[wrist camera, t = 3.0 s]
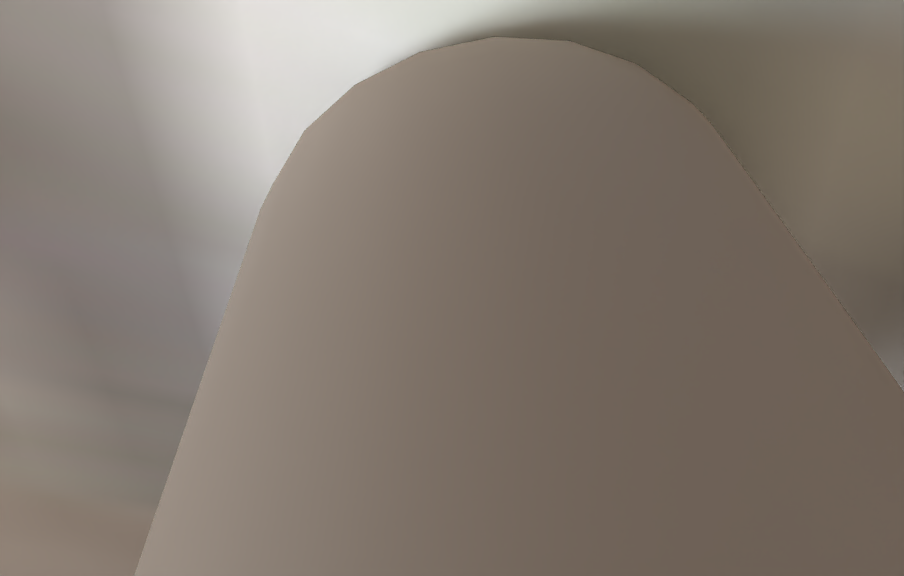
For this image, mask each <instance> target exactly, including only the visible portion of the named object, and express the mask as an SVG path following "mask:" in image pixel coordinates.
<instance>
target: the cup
mask: <svg viewBox="0 0 904 576" xmlns="http://www.w3.org/2000/svg"><path fill="white" fill-rule="evenodd" d="M134 576H904V392H903V390H902V389H901V387H900V386H899V385H898V383H897V382H896V380H895V379H894V378H893V376H892V375H891V373H890V372H889V371H888V369H887V368H886V366H885V365H884V364H883V362H882V361H881V359H880V358H879V357H878V355H877V354H876V352H875V351H874V350H873V348H872V347H871V345H870V344H869V343H868V341H867V340H866V338H865V337H864V336H863V334H862V333H861V331H860V330H859V329H858V327H857V326H856V324H855V323H854V322H853V320H852V319H851V317H850V316H849V315H848V313H847V312H846V310H845V309H844V308H843V306H842V305H841V303H840V302H839V301H838V299H837V298H836V296H835V295H834V294H833V292H832V291H831V289H830V288H829V287H828V285H827V284H826V282H825V281H824V280H823V278H822V277H821V275H820V274H819V273H818V271H817V270H816V268H815V267H814V266H813V264H812V263H811V261H810V260H809V259H808V257H807V256H806V254H805V253H804V252H803V250H802V249H801V248H800V246H799V245H798V243H797V242H796V241H795V239H794V238H793V236H792V235H791V234H790V232H789V231H788V229H787V228H786V227H785V225H784V224H783V222H782V221H781V220H780V218H779V217H778V215H777V214H776V213H775V211H774V210H773V208H772V207H771V206H770V204H769V203H768V201H767V200H766V199H765V197H764V196H763V194H762V193H761V192H760V190H759V189H758V187H757V186H756V185H755V183H754V182H753V180H752V179H751V178H750V176H749V175H748V173H747V172H746V171H745V169H744V168H743V167H742V165H741V164H740V162H739V161H738V160H737V158H736V157H735V156H734V154H733V153H732V151H731V150H730V149H729V147H728V146H727V145H726V143H725V142H724V141H723V139H722V138H721V136H720V135H719V134H718V132H717V131H716V130H715V128H714V127H713V125H712V124H711V123H710V122H709V121H708V119H707V118H706V117H705V116H704V115H703V114H702V113H701V112H700V111H699V110H698V109H697V108H696V107H695V106H694V105H693V104H692V103H691V102H690V101H689V100H687V99H686V98H684V97H683V96H682V95H680V94H679V93H677V92H676V91H675V90H673V89H672V88H670V87H669V86H667V85H666V84H665V83H663V82H662V81H660V80H659V79H658V78H656V77H655V76H653V75H652V74H651V73H649V72H648V71H646V70H645V69H643V68H642V67H641V66H639V65H638V64H636V63H633V62H630V61H627V60H624V59H621V58H618V57H615V56H612V55H610V54H607V53H604V52H601V51H598V50H595V49H592V48H589V47H586V46H583V45H580V44H577V43H574V42H572V41H565V40H547V39H528V38H510V37H490V38H485V39H480V40H476V41H471V42H466V43H461V44H456V45H451V46H446V47H441V48H436V49H432V50H427V51H422V52H419V53H417V54H415V55H413V56H411V57H409V58H407V59H405V60H403V61H401V62H399V63H397V64H395V65H393V66H391V67H389V68H387V69H385V70H383V71H381V72H379V73H377V74H375V75H373V76H371V77H369V78H367V79H365V80H363V81H361V82H360V83H358V84H356V85H354V86H353V87H352V88H351V89H350V90H349V91H348V92H347V93H345V94H344V95H343V96H342V97H341V98H340V99H339V100H338V101H337V102H335V103H334V104H333V105H332V106H331V107H330V108H329V109H328V110H327V111H326V112H324V113H323V114H322V115H321V116H320V117H319V118H318V119H317V120H316V121H315V122H313V123H312V124H311V125H310V126H309V127H308V128H307V129H306V130H305V131H304V133H303V134H302V136H301V138H300V139H299V141H298V143H297V144H296V146H295V148H294V149H293V151H292V153H291V154H290V156H289V158H288V160H287V161H286V163H285V165H284V166H283V168H282V170H281V171H280V173H279V175H278V176H277V178H276V180H275V181H274V183H273V185H272V187H271V189H270V191H269V193H268V195H267V197H266V199H265V201H264V203H263V205H262V207H261V209H260V212H259V215H258V218H257V221H256V224H255V227H254V230H253V232H252V235H251V238H250V241H249V244H248V247H247V250H246V253H245V256H244V259H243V261H242V264H241V267H240V270H239V273H238V276H237V279H236V282H235V285H234V288H233V290H232V293H231V296H230V299H229V302H228V305H227V308H226V311H225V314H224V317H223V319H222V322H221V325H220V328H219V331H218V334H217V337H216V340H215V343H214V346H213V348H212V351H211V354H210V357H209V360H208V363H207V366H206V369H205V372H204V375H203V377H202V380H201V383H200V386H199V389H198V392H197V395H196V398H195V401H194V404H193V406H192V409H191V412H190V415H189V418H188V421H187V424H186V427H185V430H184V433H183V435H182V438H181V441H180V444H179V447H178V450H177V453H176V456H175V459H174V462H173V464H172V467H171V470H170V473H169V476H168V479H167V482H166V485H165V488H164V491H163V493H162V496H161V499H160V502H159V505H158V508H157V511H156V514H155V517H154V520H153V522H152V525H151V528H150V531H149V534H148V537H147V540H146V543H145V546H144V549H143V551H142V554H141V557H140V560H139V563H138V566H137V569H136V572H135V575H134Z"/></svg>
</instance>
